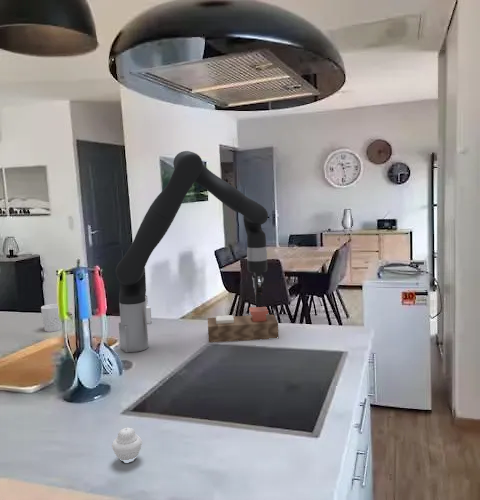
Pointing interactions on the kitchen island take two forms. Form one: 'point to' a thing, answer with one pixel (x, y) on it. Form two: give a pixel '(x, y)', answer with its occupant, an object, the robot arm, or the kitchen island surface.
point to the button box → (242, 329)
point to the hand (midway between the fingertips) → (258, 303)
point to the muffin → (127, 444)
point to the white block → (224, 319)
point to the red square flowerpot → (258, 313)
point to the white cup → (50, 317)
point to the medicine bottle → (148, 312)
